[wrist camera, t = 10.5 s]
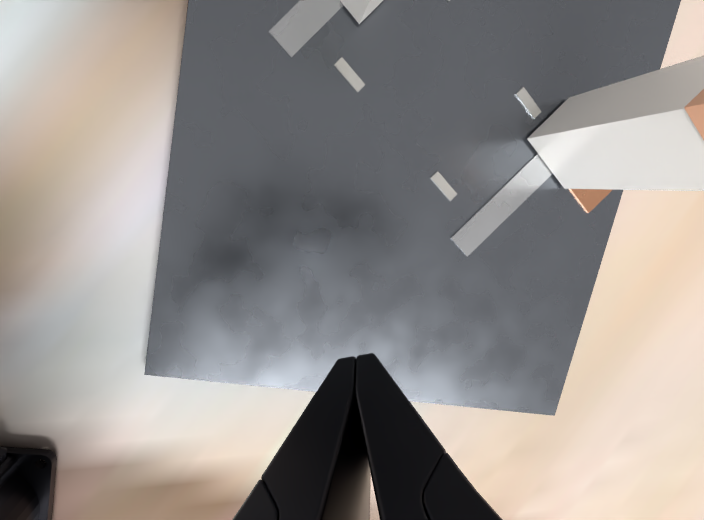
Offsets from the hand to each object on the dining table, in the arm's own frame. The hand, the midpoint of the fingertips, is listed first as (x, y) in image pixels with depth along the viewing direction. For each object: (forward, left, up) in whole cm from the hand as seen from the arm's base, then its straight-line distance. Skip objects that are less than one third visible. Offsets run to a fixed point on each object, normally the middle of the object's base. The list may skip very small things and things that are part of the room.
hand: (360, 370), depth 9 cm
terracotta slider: (+9, -12, -12) cm, 19 cm away
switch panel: (+5, -4, -12) cm, 13 cm away
